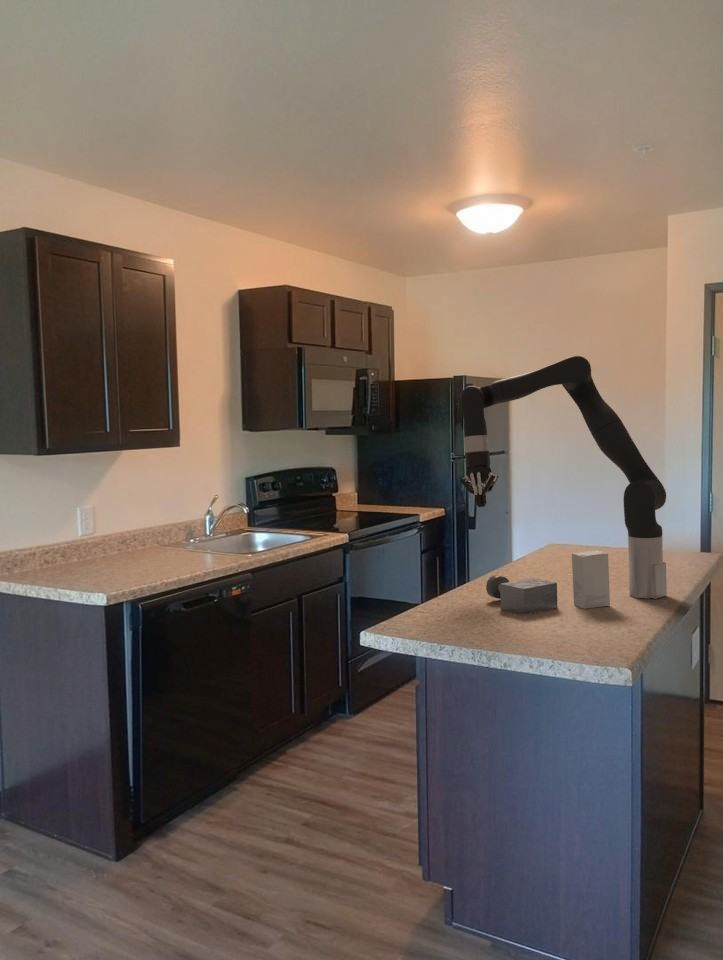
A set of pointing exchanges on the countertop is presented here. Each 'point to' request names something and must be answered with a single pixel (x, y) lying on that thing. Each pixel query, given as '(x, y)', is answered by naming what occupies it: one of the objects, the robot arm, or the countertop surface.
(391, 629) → the countertop surface
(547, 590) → the block
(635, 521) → the robot arm
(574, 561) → the skincare box
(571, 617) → the countertop surface
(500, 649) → the countertop surface
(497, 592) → the knob
